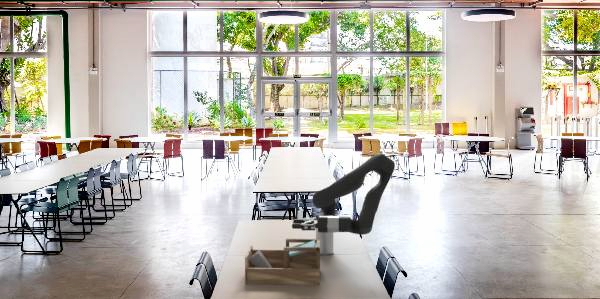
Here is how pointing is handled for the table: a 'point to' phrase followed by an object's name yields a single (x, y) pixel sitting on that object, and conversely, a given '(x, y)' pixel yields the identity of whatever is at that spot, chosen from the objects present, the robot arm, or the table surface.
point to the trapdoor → (308, 244)
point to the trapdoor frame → (286, 265)
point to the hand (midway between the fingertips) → (292, 223)
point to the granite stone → (260, 260)
